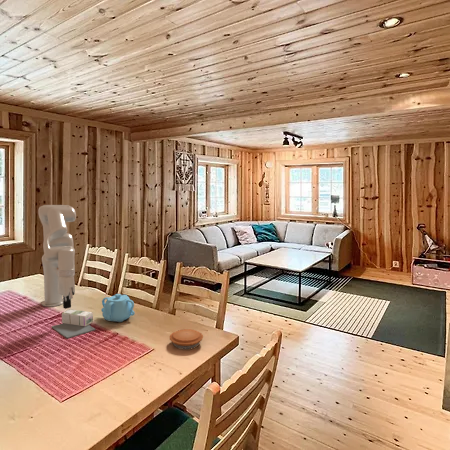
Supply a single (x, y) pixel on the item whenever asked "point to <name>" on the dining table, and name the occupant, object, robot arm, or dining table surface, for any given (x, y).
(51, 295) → the robot arm
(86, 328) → the mat
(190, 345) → the pie
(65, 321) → the syrup box
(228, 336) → the dining table surface
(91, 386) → the dining table surface
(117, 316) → the decorative pot
